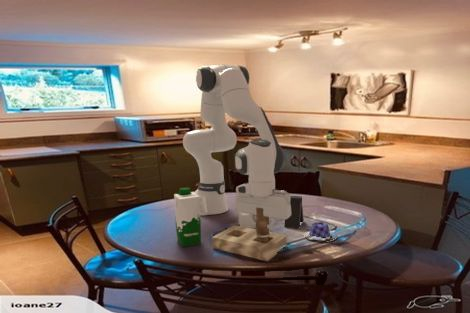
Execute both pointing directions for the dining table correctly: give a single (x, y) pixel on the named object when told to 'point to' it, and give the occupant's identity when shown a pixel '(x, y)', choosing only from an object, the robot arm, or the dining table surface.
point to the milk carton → (187, 217)
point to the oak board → (248, 243)
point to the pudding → (319, 230)
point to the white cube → (245, 220)
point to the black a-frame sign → (295, 213)
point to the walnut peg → (262, 226)
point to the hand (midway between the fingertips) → (262, 227)
